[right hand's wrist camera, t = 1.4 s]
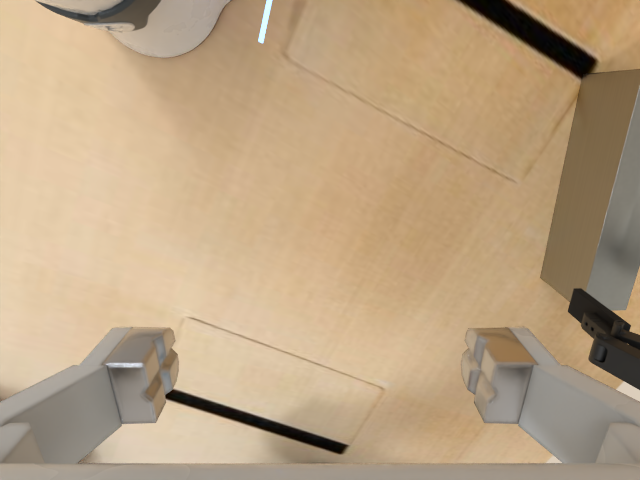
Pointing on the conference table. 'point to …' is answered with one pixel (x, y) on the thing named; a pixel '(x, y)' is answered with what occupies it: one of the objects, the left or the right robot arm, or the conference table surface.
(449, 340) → the conference table surface
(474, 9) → the conference table surface
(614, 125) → the bar
